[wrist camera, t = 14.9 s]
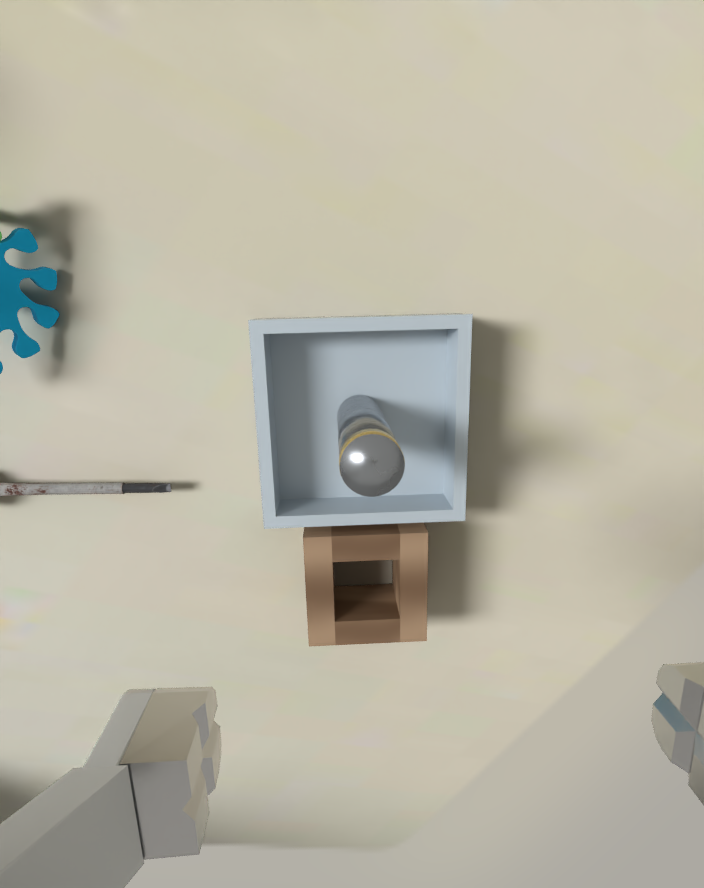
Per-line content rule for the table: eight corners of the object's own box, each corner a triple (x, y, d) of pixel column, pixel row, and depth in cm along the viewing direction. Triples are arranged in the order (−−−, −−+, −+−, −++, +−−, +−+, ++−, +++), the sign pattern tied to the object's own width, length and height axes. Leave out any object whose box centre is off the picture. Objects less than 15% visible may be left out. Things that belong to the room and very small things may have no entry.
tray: (451, 498, 37) (465, 520, 33) (271, 505, 36) (264, 528, 33) (456, 313, 33) (472, 314, 30) (258, 318, 33) (248, 320, 29)
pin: (382, 438, 34) (405, 496, 24) (337, 439, 34) (340, 498, 24) (381, 393, 34) (405, 432, 23) (335, 394, 34) (338, 435, 23)
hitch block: (415, 603, 39) (426, 640, 35) (311, 608, 39) (308, 646, 34) (416, 506, 37) (428, 532, 33) (306, 510, 37) (303, 537, 32)
